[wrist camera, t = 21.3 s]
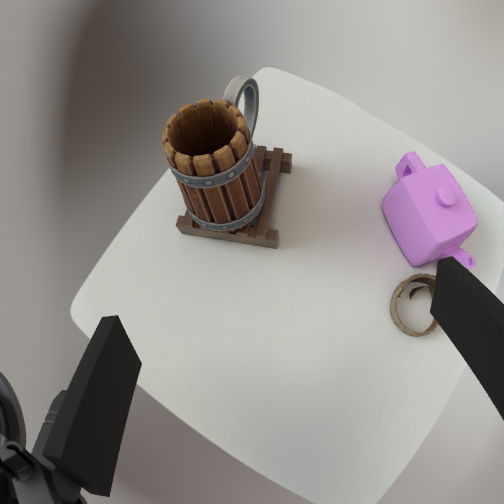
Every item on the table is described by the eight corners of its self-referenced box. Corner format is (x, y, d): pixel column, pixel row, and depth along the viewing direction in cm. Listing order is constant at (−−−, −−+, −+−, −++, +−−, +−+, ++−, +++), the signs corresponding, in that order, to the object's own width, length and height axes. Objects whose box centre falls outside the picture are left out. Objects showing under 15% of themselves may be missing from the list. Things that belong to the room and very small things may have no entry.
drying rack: (181, 233, 46) (173, 222, 42) (205, 155, 50) (200, 140, 46) (276, 248, 44) (276, 238, 40) (291, 164, 48) (292, 149, 44)
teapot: (469, 268, 40) (506, 246, 31) (419, 296, 40) (453, 278, 30) (416, 170, 46) (439, 133, 36) (365, 188, 46) (382, 149, 36)
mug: (243, 247, 40) (223, 188, 26) (174, 217, 42) (129, 154, 28) (292, 154, 44) (294, 75, 30) (227, 132, 46) (210, 57, 32)
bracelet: (450, 295, 40) (459, 290, 37) (427, 348, 38) (436, 347, 35) (404, 266, 42) (411, 260, 39) (378, 319, 40) (385, 317, 37)
